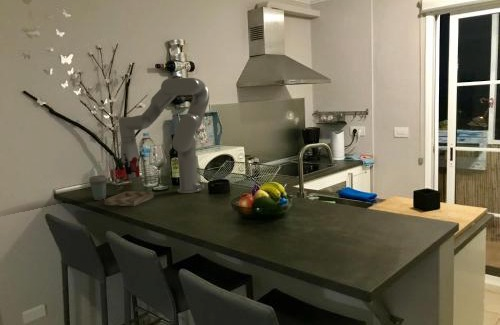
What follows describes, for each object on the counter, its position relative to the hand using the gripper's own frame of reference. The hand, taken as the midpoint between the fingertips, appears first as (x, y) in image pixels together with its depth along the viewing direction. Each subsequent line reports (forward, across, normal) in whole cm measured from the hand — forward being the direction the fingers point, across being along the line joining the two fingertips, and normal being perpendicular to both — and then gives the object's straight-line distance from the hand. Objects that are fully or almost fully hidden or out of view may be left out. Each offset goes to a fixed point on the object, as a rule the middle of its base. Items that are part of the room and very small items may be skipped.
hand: (133, 172), depth 225 cm
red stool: (+4, 0, 0) cm, 4 cm away
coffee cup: (+11, +15, -11) cm, 22 cm away
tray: (+12, +17, +8) cm, 22 cm away
